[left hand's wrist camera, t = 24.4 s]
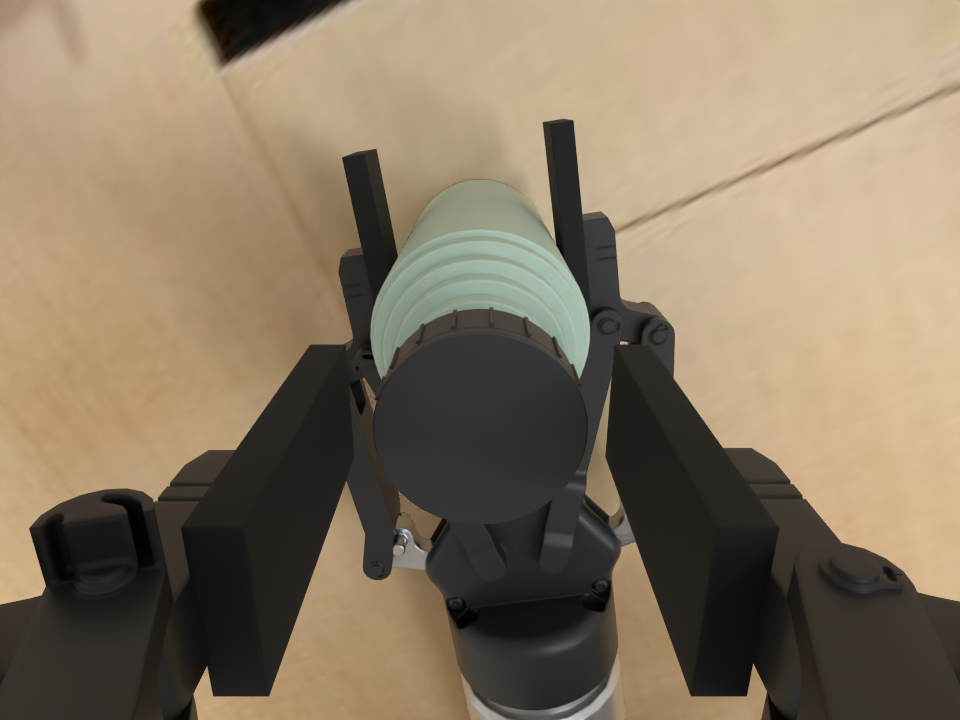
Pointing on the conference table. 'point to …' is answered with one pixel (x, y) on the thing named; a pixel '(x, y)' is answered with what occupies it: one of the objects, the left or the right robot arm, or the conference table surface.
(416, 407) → the cap
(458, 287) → the bottle
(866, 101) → the conference table surface
